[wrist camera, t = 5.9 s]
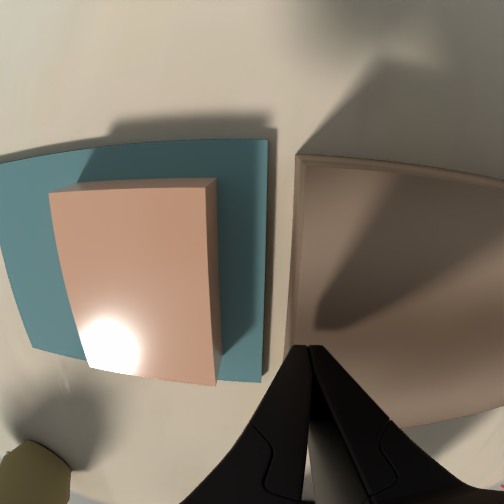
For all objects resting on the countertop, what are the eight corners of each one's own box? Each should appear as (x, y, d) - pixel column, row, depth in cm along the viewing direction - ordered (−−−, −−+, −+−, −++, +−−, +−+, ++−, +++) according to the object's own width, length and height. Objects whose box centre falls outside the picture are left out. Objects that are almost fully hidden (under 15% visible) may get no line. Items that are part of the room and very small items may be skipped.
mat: (261, 377, 15) (261, 382, 15) (36, 343, 16) (32, 347, 15) (267, 139, 11) (267, 139, 11) (-7, 165, 12) (-13, 167, 11)
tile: (89, 366, 13) (106, 342, 14) (215, 386, 12) (222, 356, 14) (48, 193, 10) (76, 182, 12) (205, 187, 9) (216, 177, 11)
